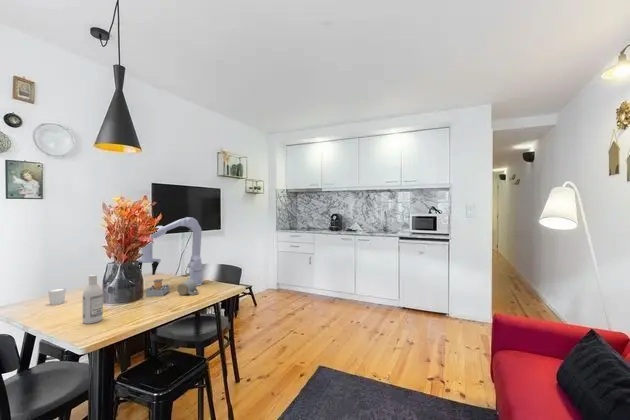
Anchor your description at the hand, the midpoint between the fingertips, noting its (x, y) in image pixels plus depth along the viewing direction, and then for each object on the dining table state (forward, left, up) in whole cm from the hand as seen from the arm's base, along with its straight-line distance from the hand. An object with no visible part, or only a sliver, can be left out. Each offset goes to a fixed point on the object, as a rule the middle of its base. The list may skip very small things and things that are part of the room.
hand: (146, 274), depth 173 cm
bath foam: (+46, -3, -10) cm, 47 cm away
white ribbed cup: (+18, -36, -10) cm, 41 cm away
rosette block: (+6, +9, -10) cm, 14 cm away
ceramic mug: (+8, +26, -10) cm, 29 cm away
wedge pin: (+6, +9, -10) cm, 14 cm away
